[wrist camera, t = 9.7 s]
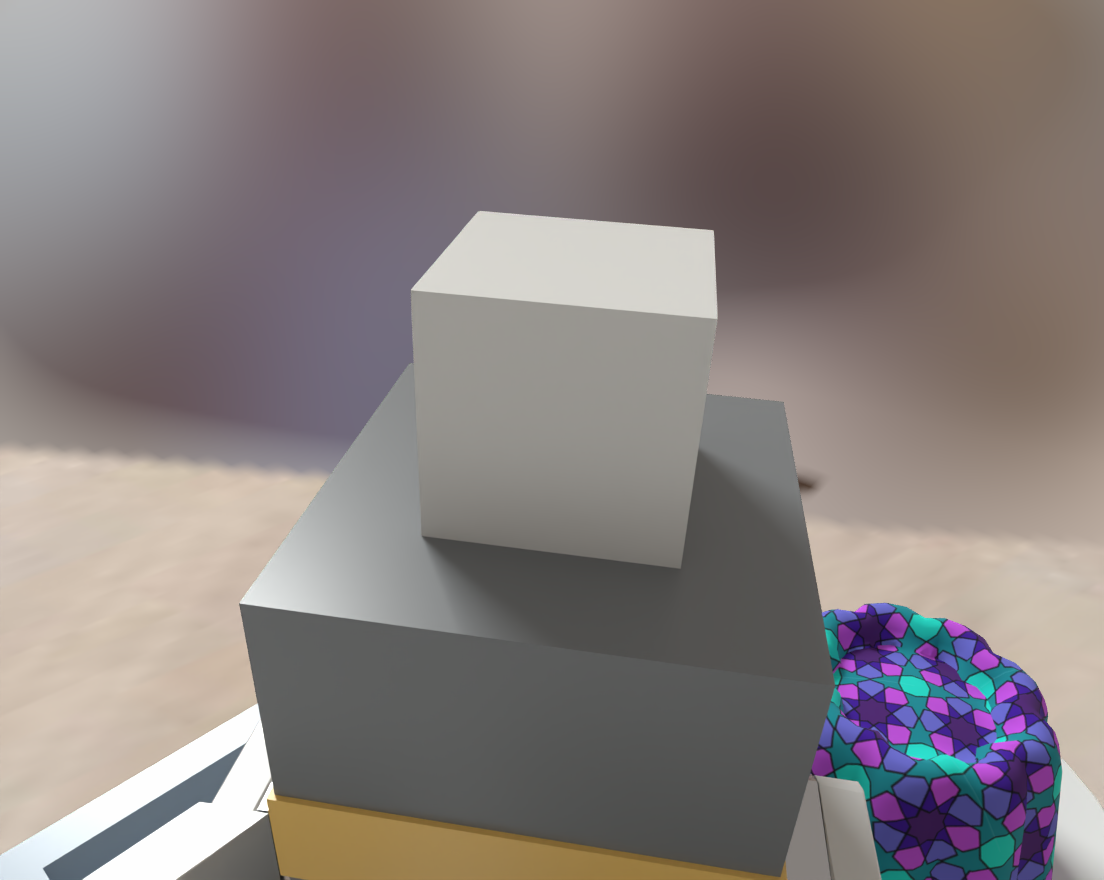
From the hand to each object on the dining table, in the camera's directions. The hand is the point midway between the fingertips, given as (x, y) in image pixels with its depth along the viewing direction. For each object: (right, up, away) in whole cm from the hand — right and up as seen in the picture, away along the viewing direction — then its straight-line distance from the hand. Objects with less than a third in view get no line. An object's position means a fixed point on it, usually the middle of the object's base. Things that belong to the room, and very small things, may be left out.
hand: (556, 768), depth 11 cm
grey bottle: (0, -7, +3) cm, 7 cm away
